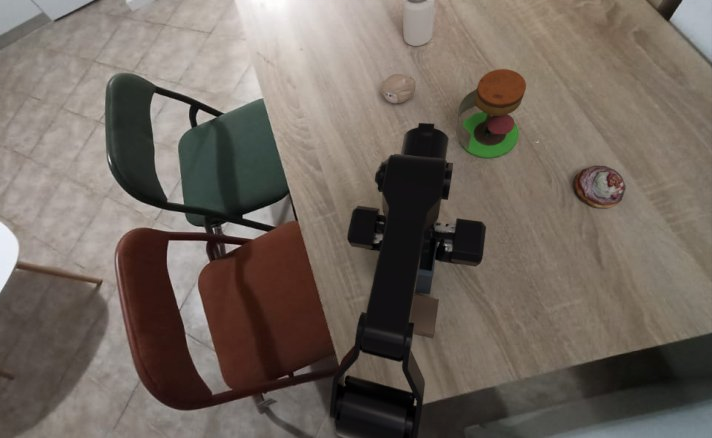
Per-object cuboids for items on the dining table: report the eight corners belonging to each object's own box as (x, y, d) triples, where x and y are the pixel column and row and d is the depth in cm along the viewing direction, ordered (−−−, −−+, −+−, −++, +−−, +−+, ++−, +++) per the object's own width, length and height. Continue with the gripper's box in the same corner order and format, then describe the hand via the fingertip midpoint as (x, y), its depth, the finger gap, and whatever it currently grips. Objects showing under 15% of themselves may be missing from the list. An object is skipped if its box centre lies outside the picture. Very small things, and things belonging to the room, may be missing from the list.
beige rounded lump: (392, 114, 95) (391, 90, 88) (377, 95, 98) (374, 70, 91) (420, 98, 94) (420, 73, 87) (403, 80, 97) (403, 54, 90)
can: (400, 46, 101) (399, 3, 91) (407, 24, 103) (407, -20, 93) (429, 48, 99) (431, 5, 88) (436, 26, 101) (439, -19, 90)
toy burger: (518, 104, 87) (537, 50, 74) (523, 159, 83) (544, 112, 70) (454, 108, 91) (461, 57, 78) (455, 161, 87) (463, 116, 73)
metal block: (432, 338, 75) (433, 334, 72) (374, 325, 79) (372, 321, 75) (437, 304, 77) (438, 299, 74) (380, 293, 81) (378, 287, 77)
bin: (426, 319, 69) (438, 238, 64) (381, 309, 72) (389, 231, 66) (432, 277, 81) (443, 206, 76) (393, 270, 84) (401, 201, 78)
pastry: (621, 212, 74) (635, 200, 70) (570, 205, 77) (579, 192, 73) (624, 171, 77) (637, 157, 72) (574, 166, 80) (583, 151, 75)
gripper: (497, 168, 57) (481, 216, 71) (356, 156, 64) (365, 201, 78) (489, 247, 54) (473, 281, 67) (340, 225, 61) (353, 260, 74)
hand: (413, 252), depth 72 cm, fingers closed on bin, 7 cm apart
